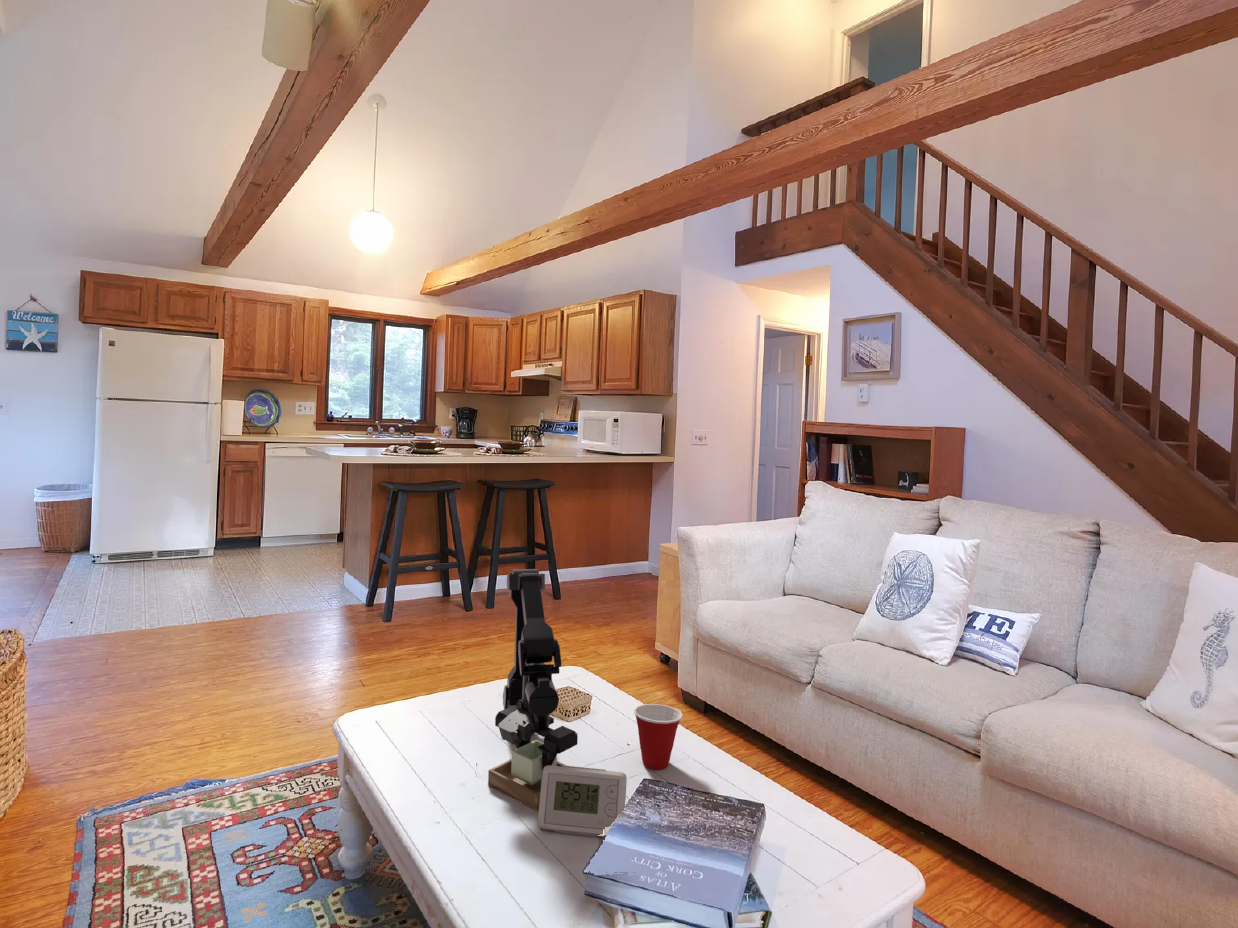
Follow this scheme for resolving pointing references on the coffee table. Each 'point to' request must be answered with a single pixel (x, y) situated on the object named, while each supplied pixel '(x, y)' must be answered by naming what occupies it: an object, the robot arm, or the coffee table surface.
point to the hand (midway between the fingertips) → (534, 768)
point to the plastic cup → (656, 733)
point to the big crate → (515, 785)
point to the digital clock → (580, 799)
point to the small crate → (528, 763)
